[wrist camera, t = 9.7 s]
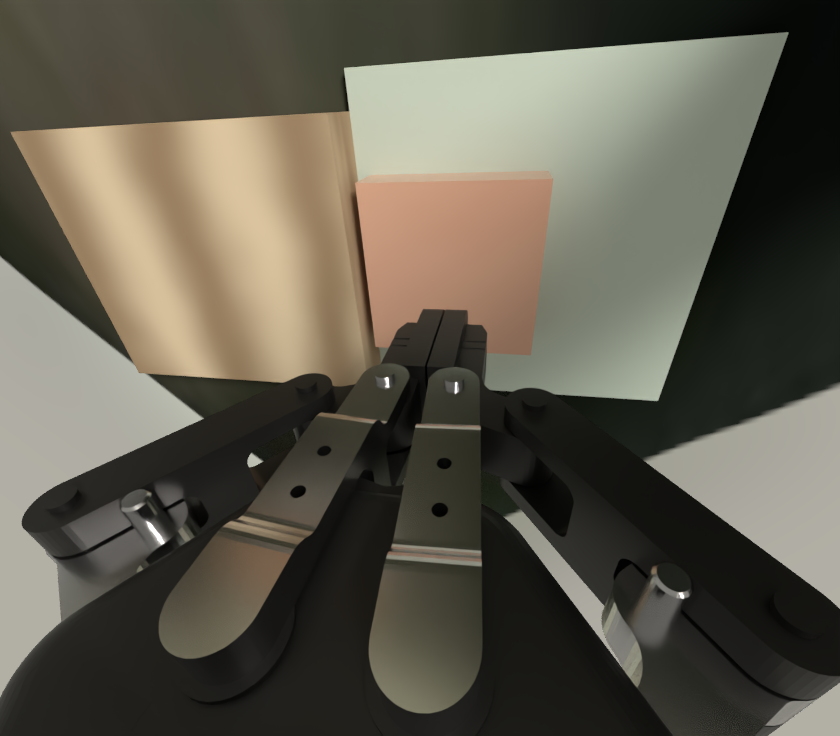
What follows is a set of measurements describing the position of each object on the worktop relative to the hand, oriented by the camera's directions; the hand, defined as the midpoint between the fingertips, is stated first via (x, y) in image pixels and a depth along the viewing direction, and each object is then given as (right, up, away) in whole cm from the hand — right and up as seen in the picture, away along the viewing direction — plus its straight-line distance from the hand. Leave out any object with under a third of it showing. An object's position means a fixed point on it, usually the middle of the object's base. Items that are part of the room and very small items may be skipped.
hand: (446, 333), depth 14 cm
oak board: (-11, +5, +9) cm, 15 cm away
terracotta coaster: (+1, +4, +5) cm, 7 cm away
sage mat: (+4, +4, +6) cm, 9 cm away
